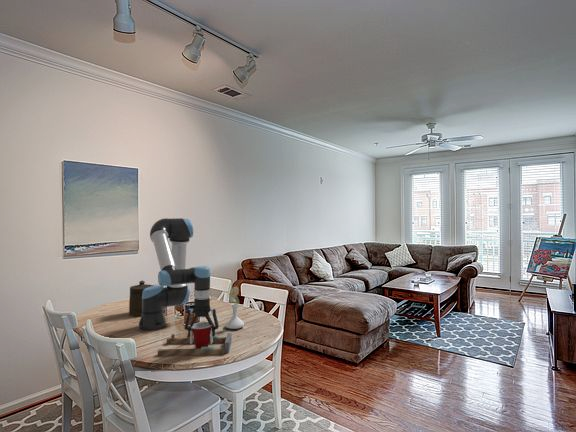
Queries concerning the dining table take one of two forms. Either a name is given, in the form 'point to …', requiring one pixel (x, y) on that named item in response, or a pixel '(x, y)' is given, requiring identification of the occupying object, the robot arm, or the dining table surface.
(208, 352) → the comb channel
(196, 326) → the plastic cup
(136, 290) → the wooden container
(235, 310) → the flower in vase
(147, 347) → the dining table surface
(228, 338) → the end stop
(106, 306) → the dining table surface
